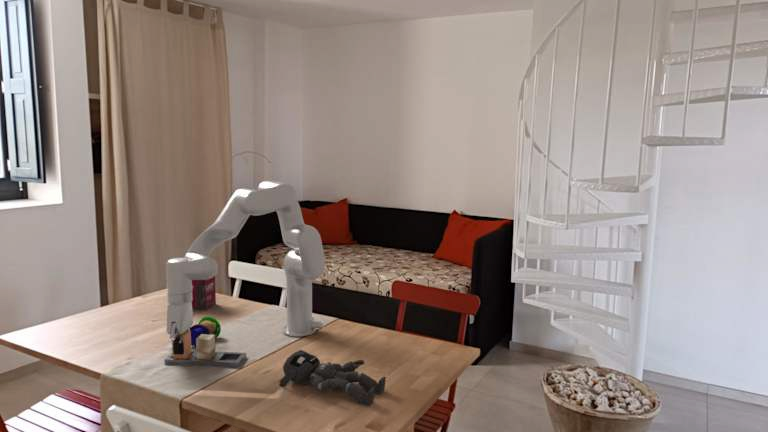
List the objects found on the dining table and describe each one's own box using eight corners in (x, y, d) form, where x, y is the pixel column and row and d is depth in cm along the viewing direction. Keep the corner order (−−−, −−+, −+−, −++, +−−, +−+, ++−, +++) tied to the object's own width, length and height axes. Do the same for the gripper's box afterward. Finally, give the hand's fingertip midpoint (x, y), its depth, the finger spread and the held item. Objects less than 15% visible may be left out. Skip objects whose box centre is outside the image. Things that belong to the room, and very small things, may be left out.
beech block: (215, 358, 181) (214, 334, 180) (210, 363, 176) (209, 339, 175) (202, 357, 181) (201, 334, 180) (196, 362, 177) (196, 339, 175)
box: (169, 307, 235) (168, 262, 232) (180, 301, 244) (179, 257, 241) (206, 310, 232) (204, 264, 229) (215, 304, 241) (214, 259, 238)
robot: (367, 390, 149) (274, 358, 160) (362, 424, 151) (271, 390, 162) (391, 367, 164) (305, 339, 175) (386, 398, 166) (302, 369, 177)
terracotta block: (191, 353, 181) (190, 330, 180) (185, 359, 177) (185, 335, 176) (178, 353, 181) (177, 330, 180) (172, 358, 177) (171, 334, 176)
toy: (214, 334, 187) (232, 319, 202) (194, 318, 187) (213, 304, 202) (195, 359, 189) (214, 342, 204) (176, 343, 189) (196, 328, 204)
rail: (246, 360, 182) (246, 352, 182) (238, 370, 174) (238, 362, 174) (175, 357, 184) (175, 349, 183) (164, 367, 176) (164, 359, 175)
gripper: (179, 289, 185) (181, 341, 187) (156, 304, 168) (158, 361, 171) (201, 289, 184) (203, 341, 187) (180, 305, 168) (182, 362, 170)
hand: (182, 350), depth 179 cm, fingers closed on terracotta block, 4 cm apart
